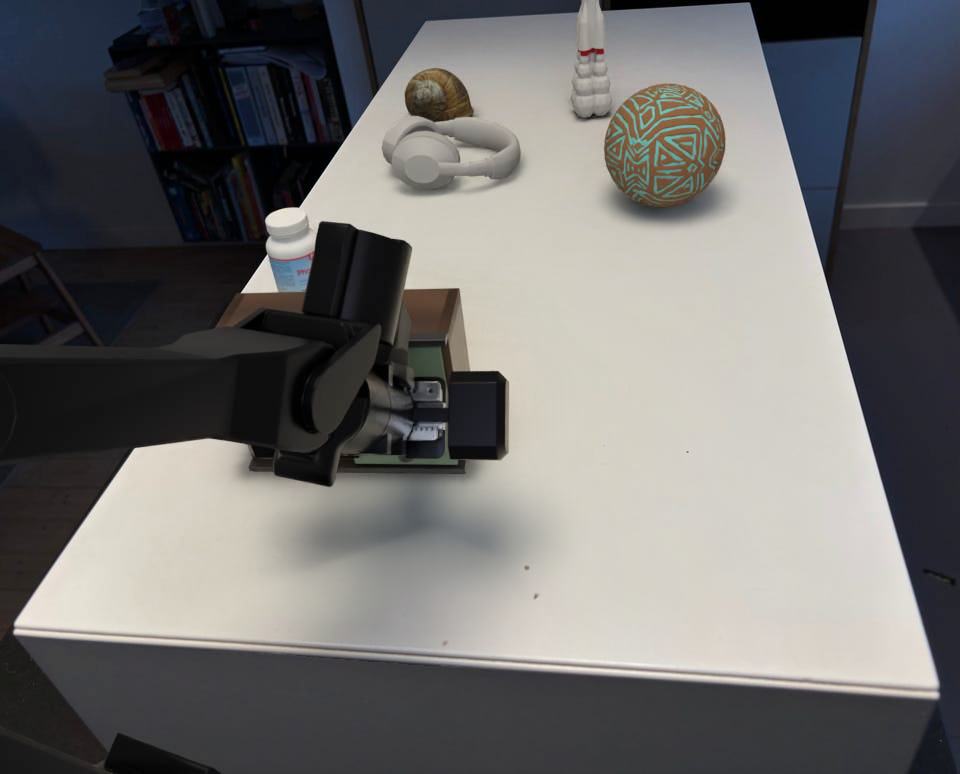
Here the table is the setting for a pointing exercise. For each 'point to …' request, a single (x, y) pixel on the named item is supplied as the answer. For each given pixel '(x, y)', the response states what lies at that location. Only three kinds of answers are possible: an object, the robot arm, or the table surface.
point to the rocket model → (590, 63)
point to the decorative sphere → (664, 145)
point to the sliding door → (425, 365)
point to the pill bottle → (290, 248)
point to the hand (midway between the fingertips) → (405, 423)
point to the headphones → (447, 150)
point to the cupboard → (430, 326)
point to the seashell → (437, 96)
